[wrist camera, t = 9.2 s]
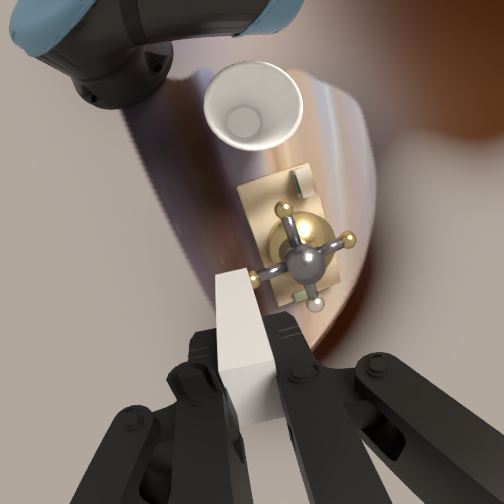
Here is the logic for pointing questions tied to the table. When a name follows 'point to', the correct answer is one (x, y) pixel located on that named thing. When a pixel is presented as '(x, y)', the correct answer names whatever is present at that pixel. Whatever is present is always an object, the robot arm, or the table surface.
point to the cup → (253, 106)
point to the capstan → (301, 250)
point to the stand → (263, 219)
